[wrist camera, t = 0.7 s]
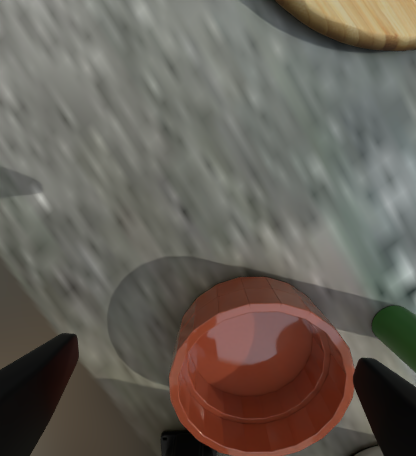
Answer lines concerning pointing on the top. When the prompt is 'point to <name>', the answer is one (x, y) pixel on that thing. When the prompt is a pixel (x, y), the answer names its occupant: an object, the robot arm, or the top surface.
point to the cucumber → (397, 332)
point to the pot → (259, 369)
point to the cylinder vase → (371, 452)
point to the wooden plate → (360, 21)
